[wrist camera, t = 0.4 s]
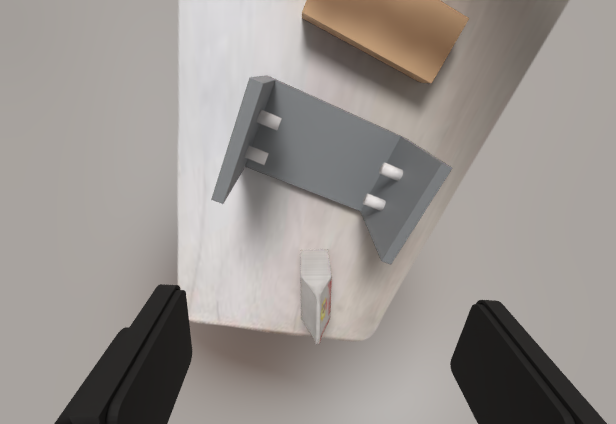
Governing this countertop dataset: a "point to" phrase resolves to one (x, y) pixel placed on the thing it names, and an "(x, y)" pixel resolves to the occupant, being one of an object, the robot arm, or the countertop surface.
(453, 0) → the countertop surface
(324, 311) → the white gable-top carton
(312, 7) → the shelf board
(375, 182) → the shelf stand
